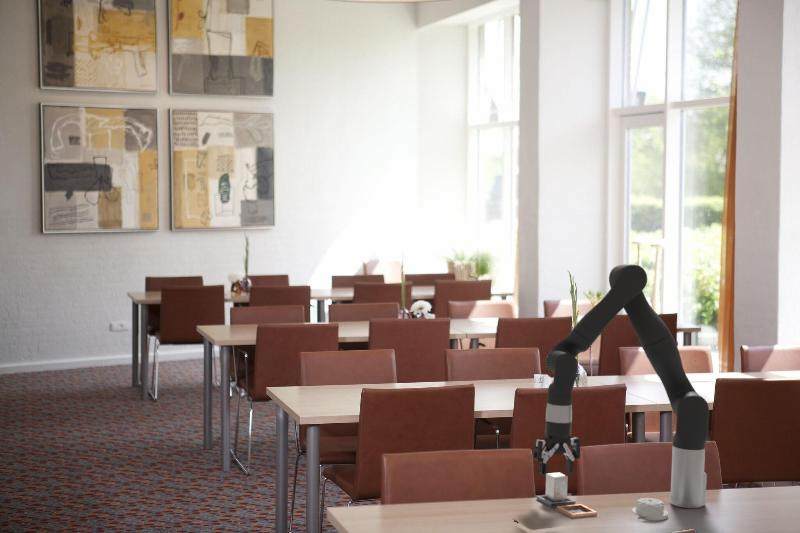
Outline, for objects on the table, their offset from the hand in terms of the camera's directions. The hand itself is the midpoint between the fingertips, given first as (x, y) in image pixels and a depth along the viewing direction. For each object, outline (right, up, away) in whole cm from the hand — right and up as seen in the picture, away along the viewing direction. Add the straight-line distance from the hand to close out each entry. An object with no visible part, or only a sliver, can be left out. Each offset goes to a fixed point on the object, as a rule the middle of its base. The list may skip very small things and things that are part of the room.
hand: (555, 474), depth 296 cm
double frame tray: (+2, -10, -5) cm, 11 cm away
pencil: (-14, -10, -8) cm, 19 cm away
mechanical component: (+25, -11, -7) cm, 29 cm away
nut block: (0, -8, 0) cm, 8 cm away
